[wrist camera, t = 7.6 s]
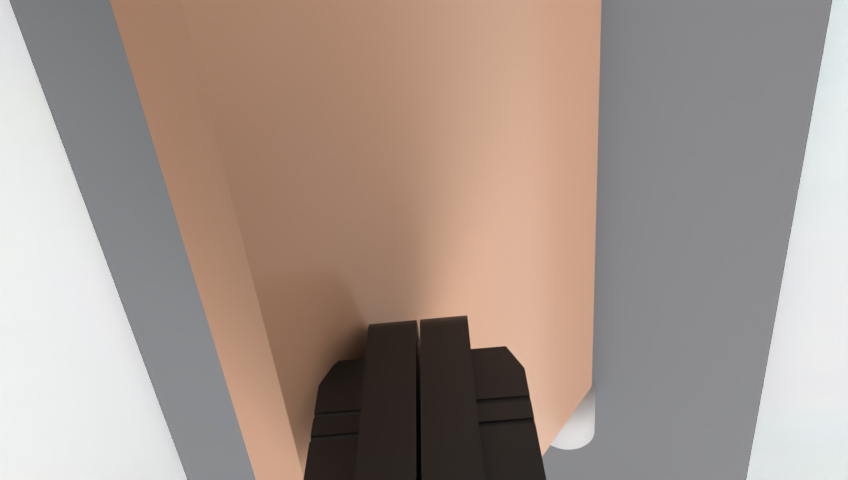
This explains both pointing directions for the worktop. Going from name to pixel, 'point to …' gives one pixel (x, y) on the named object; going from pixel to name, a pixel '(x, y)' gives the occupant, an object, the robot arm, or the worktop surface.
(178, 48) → the tile
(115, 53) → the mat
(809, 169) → the worktop surface
